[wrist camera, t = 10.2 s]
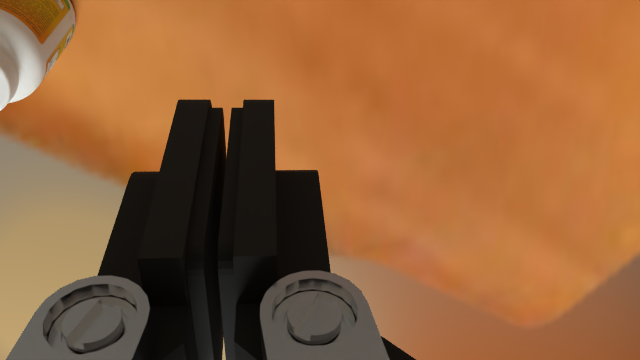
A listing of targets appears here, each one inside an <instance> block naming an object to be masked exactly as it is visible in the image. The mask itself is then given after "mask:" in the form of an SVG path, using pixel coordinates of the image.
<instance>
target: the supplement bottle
mask: <svg viewBox="0 0 640 360" xmlns="http://www.w3.org/2000/svg"><path fill="white" fill-rule="evenodd" d="M75 25H76V18H75V12H74V9H73V6H72V4H71V2H70V0H0V111H1V110H2V109H3V108H4V107H5V106H6V105H7V104H8V103H12V102H16V101H18V100H21V99H23V98H25V97H27V96H29V95H30V94H31V93H32V92H33V91H34V90H35V89H36V88H37V87H38V86H39V85H40V84H41V82H42V81H43V79H44V78H45V76H46V75H47V73H48V72H49V70H50V69H51V68H52V66H53V65H54V63H55V62H56V60H57V59H58V58H59V56H60V55H61V53H62V52H63V50H64V49H65V48H66V46H67V45H68V43H69V42H70V40H71V38H72V36H73V34H74V30H75Z"/></svg>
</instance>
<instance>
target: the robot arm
mask: <svg viewBox="0 0 640 360" xmlns="http://www.w3.org/2000/svg"><path fill="white" fill-rule="evenodd" d="M223 338H224V343H225V354H226V360H416V359H414V358H413V357H411V356H410V355H408V354H407V353H405V352H404V351H402V350H401V349H399V348H398V347H396V346H395V345H393V344H392V343H391V342H389V341H388V340H386V339H385V338H383V337H382V336H380V333H379V331H378V328H377V325H376V323H375V320H374V318H373V315H372V312H371V310H370V307H369V304H368V302H367V300H366V299H365V297H364V295H363V294H362V292H361V290H359V288H357V287H356V286H355V285H354V284H353V283H352V282H350V281H349V280H347V279H345V278H343V277H341V276H338V275H337V274H334V273H331V272H330V264H329V256H328V247H327V239H326V231H325V223H324V215H323V207H322V199H321V191H320V183H319V175H318V171H317V170H275V126H274V100H244V102H243V108H232V110H231V120H230V130H229V139H228V149H227V159H226V144H225V129H224V115H223V108H212V105H211V101H210V100H178V103H177V106H176V110H175V114H174V118H173V122H172V126H171V129H170V133H169V137H168V141H167V145H166V149H165V152H164V156H163V160H162V164H161V168H160V172H134V173H132V174H131V176H130V178H129V181H128V184H127V187H126V190H125V193H124V196H123V199H122V203H121V206H120V209H119V212H118V215H117V218H116V221H115V224H114V227H113V230H112V233H111V236H110V239H109V242H108V245H107V248H106V251H105V255H104V257H103V260H102V264H101V267H100V270H99V273H98V276H93V277H89V278H85V279H81V280H77V281H75V282H73V283H71V284H68V285H66V286H64V287H62V288H60V289H59V290H57V291H56V292H55V293H54V294H52V295H51V296H50V297H48V298H47V299H46V300H45V301H44V302H43V303H42V304H41V306H40V307H39V308H38V309H37V310H36V312H35V313H34V315H33V316H32V318H31V320H30V321H29V323H28V325H27V326H26V328H25V329H24V331H23V333H22V334H21V336H20V338H19V339H18V341H17V342H16V344H15V346H14V347H13V349H12V350H11V352H10V354H9V355H8V357H7V359H6V360H222V350H223Z"/></svg>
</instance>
